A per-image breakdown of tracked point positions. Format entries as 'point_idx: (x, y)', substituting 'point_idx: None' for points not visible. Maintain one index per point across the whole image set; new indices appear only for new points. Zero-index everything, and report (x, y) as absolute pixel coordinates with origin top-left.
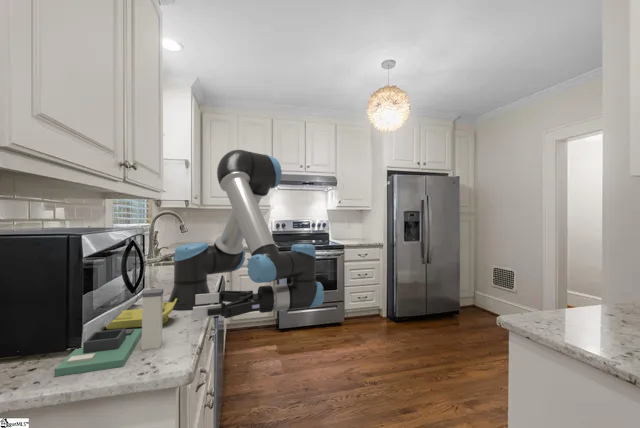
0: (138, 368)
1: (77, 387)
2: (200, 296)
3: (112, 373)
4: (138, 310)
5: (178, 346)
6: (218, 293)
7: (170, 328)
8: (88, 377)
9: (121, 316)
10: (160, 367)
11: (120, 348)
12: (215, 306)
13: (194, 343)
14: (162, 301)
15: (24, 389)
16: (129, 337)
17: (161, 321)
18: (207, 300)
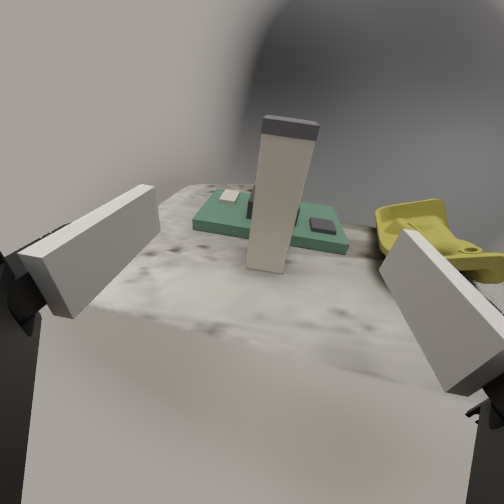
0: (166, 240)
1: (166, 204)
2: (409, 251)
3: (178, 222)
4: (440, 232)
5: (230, 295)
6: (501, 340)
7: (377, 296)
8: (188, 209)
9: (400, 219)
10: (137, 260)
11: (247, 220)
12: (57, 237)
13: (227, 331)
14: (299, 170)
15: (201, 188)
16: (298, 229)
17: (275, 223)
18: (414, 302)
